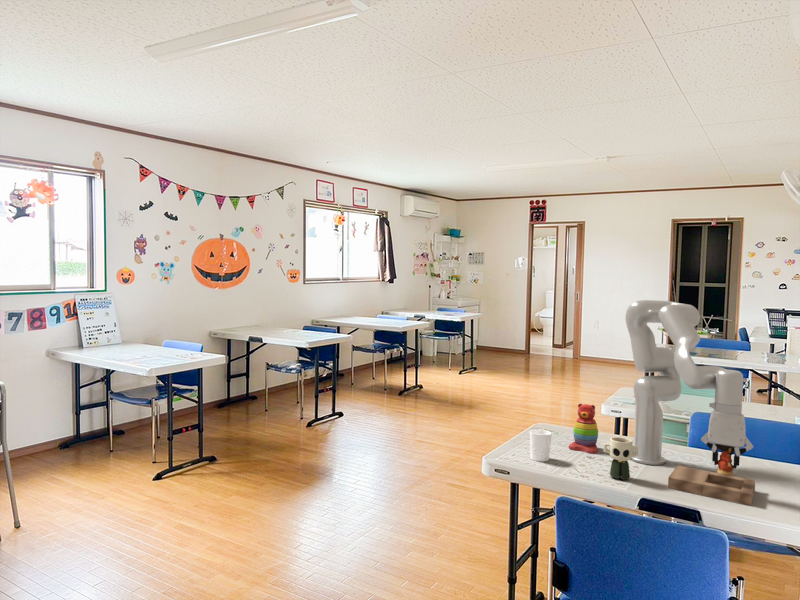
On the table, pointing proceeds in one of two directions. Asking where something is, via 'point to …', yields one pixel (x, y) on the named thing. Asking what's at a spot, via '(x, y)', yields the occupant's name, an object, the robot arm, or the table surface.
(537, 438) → the white cup
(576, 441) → the stacking bear
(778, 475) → the table surface
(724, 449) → the figurine
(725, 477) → the jig
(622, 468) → the character mug
